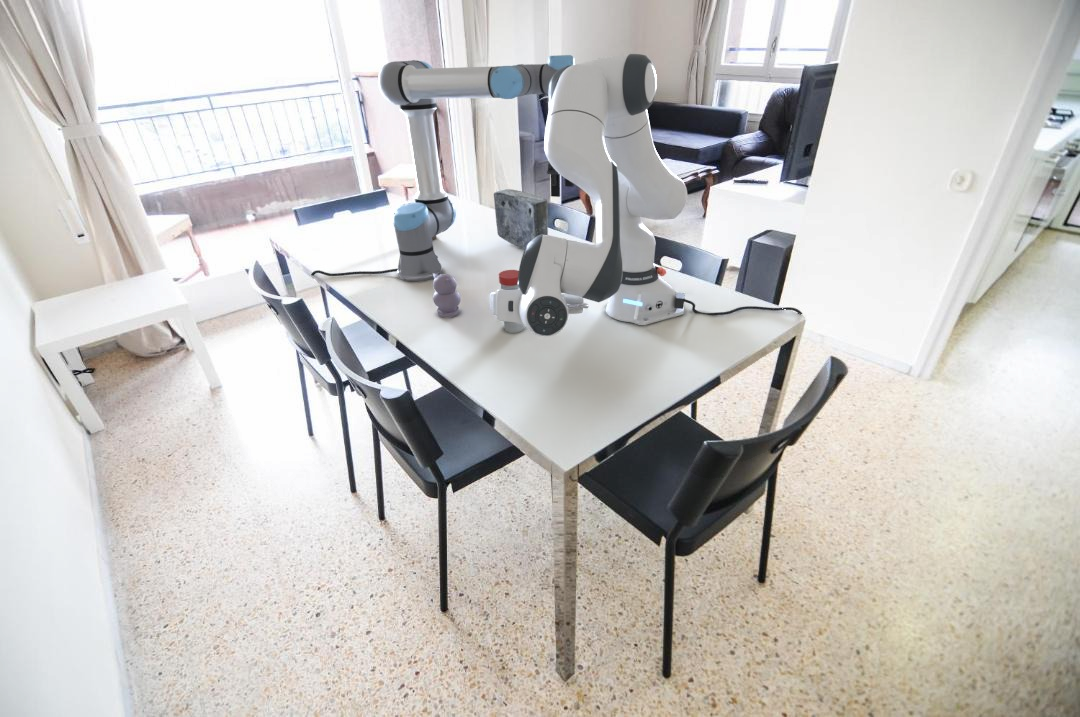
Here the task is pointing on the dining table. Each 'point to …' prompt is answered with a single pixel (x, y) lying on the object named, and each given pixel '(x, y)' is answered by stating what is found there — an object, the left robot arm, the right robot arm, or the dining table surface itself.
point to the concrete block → (520, 216)
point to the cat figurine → (446, 295)
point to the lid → (509, 277)
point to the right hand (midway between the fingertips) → (534, 299)
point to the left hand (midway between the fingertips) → (562, 191)
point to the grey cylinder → (510, 326)
